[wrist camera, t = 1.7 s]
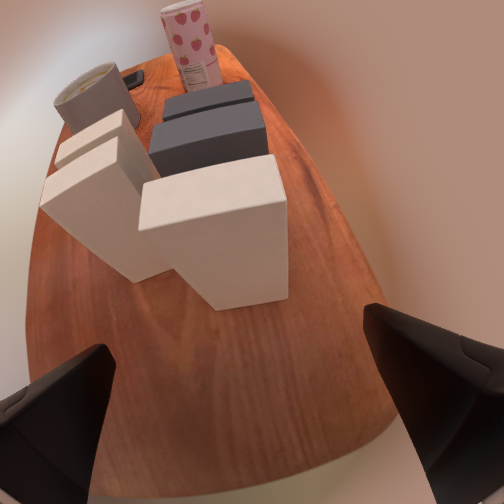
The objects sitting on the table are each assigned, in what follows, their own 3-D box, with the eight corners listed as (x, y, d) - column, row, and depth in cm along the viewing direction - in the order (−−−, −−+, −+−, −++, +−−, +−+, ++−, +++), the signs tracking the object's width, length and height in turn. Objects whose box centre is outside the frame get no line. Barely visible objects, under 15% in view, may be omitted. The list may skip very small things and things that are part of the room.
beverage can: (231, 82, 34) (211, -5, 21) (211, 102, 33) (184, 6, 19) (200, 81, 36) (177, 2, 23) (179, 99, 34) (148, 14, 21)
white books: (190, 262, 22) (116, 161, 11) (134, 283, 22) (39, 207, 11) (176, 203, 25) (120, 103, 14) (127, 224, 25) (57, 140, 14)
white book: (288, 299, 20) (287, 199, 9) (215, 311, 20) (137, 230, 9) (282, 269, 21) (274, 152, 10) (212, 281, 21) (142, 182, 10)
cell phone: (86, 99, 42) (85, 97, 42) (143, 71, 43) (142, 68, 42) (81, 115, 39) (79, 112, 38) (144, 83, 40) (142, 80, 39)
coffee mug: (144, 130, 32) (115, 72, 23) (84, 165, 31) (47, 116, 22) (135, 96, 38) (114, 51, 29) (86, 123, 37) (61, 83, 28)
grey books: (278, 248, 22) (266, 126, 11) (211, 261, 22) (147, 154, 11) (264, 186, 25) (246, 69, 14) (206, 197, 25) (161, 89, 14)
